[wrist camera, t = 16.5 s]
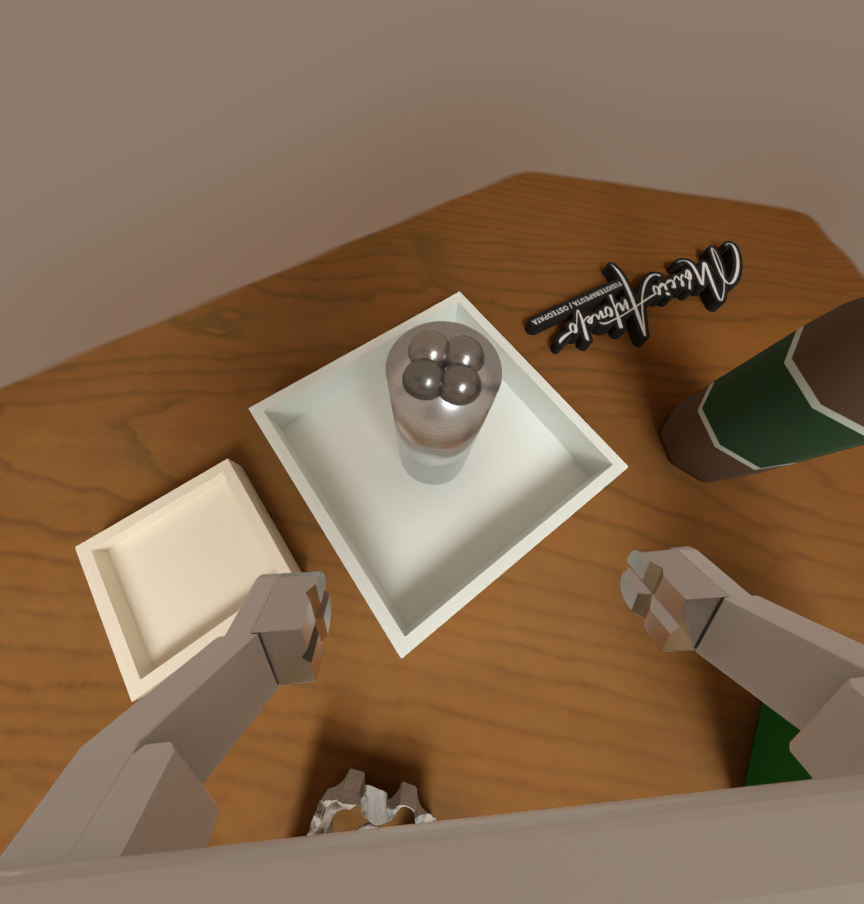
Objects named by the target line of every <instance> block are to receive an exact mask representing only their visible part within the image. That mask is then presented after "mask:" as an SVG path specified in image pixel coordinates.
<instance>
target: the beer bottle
mask: <svg viewBox="0 0 864 904" xmlns="http://www.w3.org/2000/svg"><path fill="white" fill-rule="evenodd" d="M660 437H661V439H662V441H663V444H664V446H665V448H666V451H667V453H668V455H669V458H670V460H671V462H672V464H674V465H676V466H677V467H679V468H681V469H682V470H684V471H686V472H687V473H689V474H691V475H692V476H694V477H695V478H697V479H699V480H700V481H702V482H712V481H718V480H725V479H731V478H737V477H742V476H747V475H751V474H756V473H760V472H764V471H768V470H772V469H775V468H779V467H783V466H786V465H790V464H794V463H797V462H801V461H805V460H809V459H812V458H816V457H820V456H823V455H827V454H831V453H834V452H838V451H842V450H846V449H849V448H853V447H857V446H860V445H864V297H862V298H859V299H856V300H853V301H850V302H847V303H845V304H843V305H841V306H839V307H837V308H835V309H833V310H832V311H830V312H828V313H826V314H824V315H822V316H821V317H819V318H817V319H815V320H813V321H811V322H810V323H808V324H806V325H804V326H802V327H801V328H799V329H798V330H796V331H794V332H793V333H791V334H790V335H788V336H786V337H785V338H783V339H782V340H780V341H778V342H777V343H775V344H774V345H772V346H770V347H769V348H767V349H766V350H764V351H762V352H761V353H759V354H757V355H756V356H754V357H753V358H751V359H749V360H748V361H746V362H745V363H743V364H741V365H740V366H738V367H737V368H735V369H733V370H732V371H730V372H729V373H727V374H725V375H724V376H722V377H721V378H719V379H717V380H716V381H714V382H712V383H711V384H709V385H708V386H706V387H704V388H703V389H701V390H700V391H698V392H696V393H695V394H693V395H692V396H690V397H688V398H687V399H685V400H684V401H683V402H681V403H680V404H678V405H677V406H676V407H674V408H673V409H672V411H671V413H670V414H669V416H668V418H667V420H666V422H665V424H664V426H663V428H662V430H661V432H660Z"/></svg>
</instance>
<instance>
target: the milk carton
mask: <svg viewBox="0 0 864 904" xmlns="http://www.w3.org/2000/svg"><path fill="white" fill-rule="evenodd" d="M800 731H801V730H799V729H798V728H797V727H795V726H794V725H793V724H791V723H790V722H789V721H787V720H786V719H785V718H783V717H782V716H781V715H779V714H778V713H777V712H775V711H774V710H773V709H771V708H770V707H769V706H767V705H766V704H765V703H763V702H762V705H761V710H760V715H759V719H758V724H757V729H756V734H755V738H754V743H753V748H752V753H751V757H750V762H749V767H748V771H747V776H746V781H745V786H744V787H747V786H756V785H764V784H773V783H782V782H791V781H800V780H809V779H813V778H812V777H811V775H810V774H809V773H808V772H807V771H806V769H805V768H804V767H803V766H802V765H801V763H800V762H799V761H798V760H797V759H796V758H795V756H794V755H793V754H792V753H791V752H790V742H791V741H792V740H793V739H794V737H795V736H796V735H797V734H798V733H799V732H800Z"/></svg>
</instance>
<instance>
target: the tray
mask: <svg viewBox="0 0 864 904" xmlns="http://www.w3.org/2000/svg"><path fill="white" fill-rule="evenodd" d="M75 549H76V551H77V554H78V557H79V559H80V562H81V565H82V568H83V570H84V573H85V576H86V579H87V581H88V584H89V587H90V589H91V592H92V595H93V598H94V600H95V603H96V606H97V609H98V611H99V614H100V617H101V619H102V622H103V625H104V628H105V630H106V633H107V636H108V639H109V641H110V644H111V647H112V649H113V652H114V655H115V658H116V660H117V663H118V666H119V669H120V671H121V674H122V677H123V679H124V682H125V685H126V688H127V690H128V693H129V696H130V699H131V701H132V702H133V701H135V700H137V699H139V698H141V697H143V696H145V695H146V694H148V693H149V692H150V691H151V690H152V689H154V688H155V687H156V686H157V685H159V684H160V683H161V682H162V681H164V680H165V679H166V678H167V677H169V676H170V675H171V674H172V673H174V672H175V671H176V670H177V669H178V668H180V667H181V666H182V665H183V664H185V663H186V662H187V661H188V660H190V659H191V658H192V657H193V656H195V655H196V654H197V653H198V652H199V651H201V650H202V649H203V648H204V647H206V646H207V645H208V644H209V643H211V642H212V641H213V640H214V639H216V638H217V637H220V636H225V635H226V633H227V631H228V629H229V627H230V626H231V624H232V622H233V620H234V618H235V616H236V615H237V613H238V611H239V609H240V607H241V606H242V604H243V602H244V600H245V598H246V597H247V595H248V593H249V591H250V589H251V587H252V586H253V584H254V582H255V580H256V579H257V578H258V577H259V576H260V575H262V574H282V573H297V572H301V570H300V568H299V567H298V565H297V563H296V561H295V559H294V558H293V556H292V554H291V552H290V551H289V549H288V547H287V545H286V544H285V542H284V540H283V538H282V537H281V535H280V533H279V531H278V530H277V528H276V526H275V524H274V522H273V521H272V519H271V517H270V515H269V514H268V512H267V510H266V508H265V507H264V505H263V503H262V501H261V500H260V498H259V496H258V494H257V493H256V491H255V489H254V487H253V486H252V484H251V482H250V480H249V478H248V477H247V475H246V473H245V471H244V470H243V468H242V466H240V465H238V464H237V463H235V462H233V461H231V460H229V459H226V460H224V461H223V462H221V463H219V464H217V465H216V466H214V467H212V468H211V469H209V470H207V471H205V472H204V473H202V474H200V475H198V476H197V477H195V478H193V479H192V480H190V481H188V482H186V483H185V484H183V485H181V486H180V487H178V488H176V489H174V490H173V491H171V492H169V493H168V494H166V495H164V496H162V497H161V498H159V499H157V500H155V501H154V502H152V503H150V504H149V505H147V506H145V507H143V508H142V509H140V510H138V511H137V512H135V513H133V514H131V515H130V516H128V517H126V518H125V519H123V520H121V521H119V522H118V523H116V524H114V525H113V526H111V527H109V528H107V529H106V530H104V531H102V532H100V533H99V534H97V535H95V536H94V537H92V538H90V539H88V540H87V541H85V542H83V543H82V544H80V545H78V546H76V547H75Z"/></svg>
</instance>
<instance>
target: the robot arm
mask: <svg viewBox="0 0 864 904" xmlns="http://www.w3.org/2000/svg"><path fill="white" fill-rule="evenodd" d="M627 563H628V565H629V567H630V568H628V569H627V570H626V571H625V572H624V573H623V574H622V577H621V581H620V587H621V593H622V596H623V598H624V600H625V602H626V604H627V605H628V606H629V608H630V609H631V611H633V612H634V613H636V614H638V615H639V616H641V617H642V618H643V627H644V628H645V630H646V631H647V633H648V634H649V635H650V637H651V638H652V639H653V641H654V642H655V643H656V645H657V646H658V648H659V649H660V650H661V652H665V651H684V650H696V651H695V652H696V653H698V654H699V655H700V656H702V657H703V658H704V659H706V660H707V661H708V662H710V663H711V664H712V665H714V666H715V667H716V668H718V669H719V670H720V671H722V672H723V673H724V674H726V675H727V676H728V677H730V678H731V679H732V680H734V681H735V682H736V683H738V684H739V685H740V686H742V687H743V688H745V689H746V690H747V691H749V692H750V693H751V694H753V695H754V696H755V697H757V698H758V699H759V700H761V701H762V702H763V703H765V704H766V705H767V706H769V707H770V708H771V709H773V710H774V711H775V712H777V713H778V714H779V715H781V716H782V717H783V718H785V719H786V720H787V721H789V722H790V723H791V724H793V725H794V726H795V727H797V728H798V729H799V730H801V731H800V732H799V733H798V734H797V735H796V736H795V737H794V739H793V740H792V741H791V742H790V752H791V753H792V754H793V755H794V756H795V758H796V759H797V760H798V761H799V762H800V763H801V765H802V766H803V767H804V768H805V769H806V771H807V772H808V773H809V774H810V775H811V777H812V778H813V779H809V780H800V781H791V782H782V783H773V784H764V785H756V786H747V787H738V788H729V789H720V790H711V791H702V792H693V793H684V794H675V795H666V796H658V797H649V798H640V799H631V800H622V801H613V802H604V803H595V804H586V805H577V806H568V807H559V808H551V809H542V810H533V811H524V812H515V813H506V814H497V815H488V816H479V817H470V818H461V819H453V820H444V821H435V822H426V823H417V824H408V825H399V826H390V827H381V828H372V829H364V830H355V831H346V832H337V833H328V834H319V835H310V836H301V837H292V838H283V839H274V840H266V841H257V842H248V843H239V844H230V845H221V846H212V847H207V845H208V842H209V840H210V837H211V834H212V831H213V828H214V826H215V823H216V820H217V817H218V814H219V809H218V806H217V803H216V802H215V800H214V799H213V798H212V796H211V795H210V794H209V792H208V791H207V790H206V788H205V787H204V786H203V784H204V782H205V781H206V780H207V779H208V777H209V776H210V775H211V773H212V772H213V771H214V770H215V768H216V767H217V766H218V765H219V763H220V762H221V761H222V759H223V758H224V757H225V756H226V754H227V753H228V752H229V750H230V749H231V748H232V747H233V745H234V744H235V743H236V742H237V740H238V739H239V738H240V736H241V735H242V734H243V733H244V731H245V730H246V729H247V728H248V726H249V725H250V724H251V722H252V721H253V720H254V719H255V717H256V716H257V715H258V714H259V712H260V711H261V710H262V708H263V707H264V706H265V705H266V703H267V702H268V701H269V700H270V698H271V697H272V696H273V694H274V693H275V692H276V691H277V689H278V686H279V685H287V684H296V683H305V682H313V681H316V680H317V676H318V672H319V668H320V664H321V660H322V656H323V648H322V644H321V641H322V640H323V639H324V638H325V636H326V635H327V634H328V631H329V626H330V620H331V600H330V595H329V594H328V593H327V592H326V591H324V590H325V586H326V583H327V581H326V578H325V574H324V572H297V573H282V574H262V575H260V576H259V577H258V578H257V579H256V580H255V582H254V584H253V586H252V587H251V589H250V591H249V593H248V595H247V597H246V598H245V600H244V602H243V604H242V606H241V607H240V609H239V611H238V613H237V615H236V616H235V618H234V620H233V622H232V624H231V626H230V627H229V629H228V631H227V633H226V635H225V636H220V637H217V638H216V639H214V640H213V641H212V642H211V643H209V644H208V645H207V646H206V647H204V648H203V649H202V650H201V651H199V652H198V653H197V654H196V655H195V656H193V657H192V658H191V659H190V660H188V661H187V662H186V663H185V664H183V665H182V666H181V667H180V668H178V669H177V670H176V671H175V672H174V673H172V674H171V675H170V676H169V677H167V678H166V679H165V680H164V681H162V682H161V683H160V684H159V685H157V686H156V687H155V688H154V689H152V690H151V691H150V692H149V693H148V694H146V695H145V696H144V697H143V698H141V699H140V700H139V701H138V702H136V703H135V704H134V705H133V706H131V707H130V708H129V709H128V710H126V711H125V712H124V713H123V714H122V715H120V716H119V717H118V718H117V719H115V720H114V721H113V722H112V723H110V724H109V725H108V726H107V727H105V728H104V729H103V730H102V731H100V732H99V733H98V734H97V735H96V736H94V737H93V738H92V739H91V740H89V741H88V742H87V743H86V744H84V745H83V746H82V747H81V748H80V749H79V751H78V752H77V753H76V755H75V756H74V757H73V759H72V760H71V761H70V763H69V764H68V765H67V767H66V768H65V770H64V771H63V772H62V774H61V775H60V776H59V778H58V779H57V780H56V782H55V783H54V784H53V786H52V787H51V789H50V790H49V791H48V793H47V794H46V795H45V797H44V798H43V799H42V801H41V802H40V803H39V805H38V806H37V808H36V809H35V810H34V812H33V813H32V814H31V816H30V817H29V818H28V820H27V821H26V822H25V824H24V825H23V827H22V828H21V829H20V831H19V832H18V833H17V835H16V836H15V837H14V839H13V840H12V841H11V843H10V844H9V846H8V847H7V848H6V850H5V851H4V852H3V854H2V855H1V856H0V904H864V645H863V644H860V643H858V642H856V641H854V640H852V639H850V638H847V637H845V636H843V635H841V634H839V633H837V632H835V631H832V630H830V629H828V628H826V627H824V626H822V625H820V624H817V623H815V622H813V621H811V620H809V619H807V618H805V617H802V616H800V615H798V614H796V613H794V612H792V611H790V610H787V609H785V608H783V607H781V606H779V605H777V604H775V603H772V602H770V601H768V600H766V599H764V598H762V597H760V596H751V595H750V594H749V593H747V592H746V591H745V590H744V589H743V588H742V587H740V586H739V585H738V584H737V583H736V582H734V581H733V580H732V579H731V578H730V577H729V576H727V575H726V574H725V573H724V572H723V571H721V570H720V569H719V568H718V567H717V566H716V565H714V564H713V563H712V562H711V561H710V560H708V559H707V558H706V557H705V556H704V555H703V554H701V553H700V552H699V551H698V550H696V549H694V548H692V547H690V546H685V547H672V548H659V549H646V550H633V551H632V552H631V553H630V554H629V556H628V559H627Z"/></svg>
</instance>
